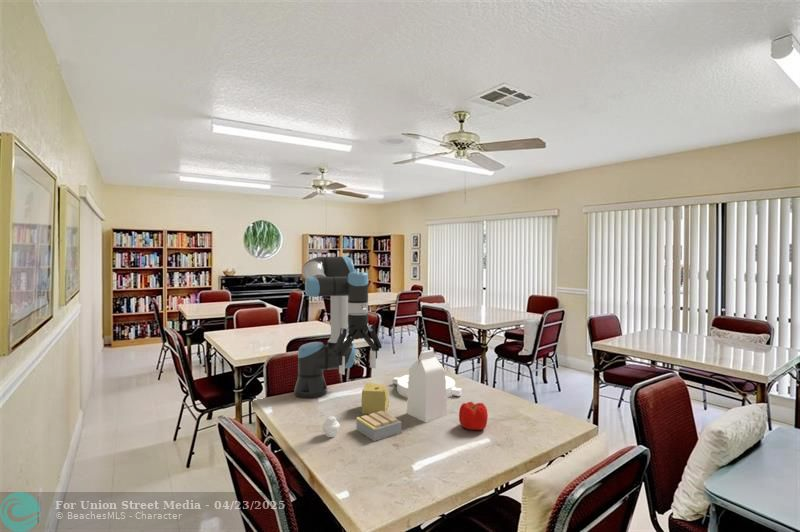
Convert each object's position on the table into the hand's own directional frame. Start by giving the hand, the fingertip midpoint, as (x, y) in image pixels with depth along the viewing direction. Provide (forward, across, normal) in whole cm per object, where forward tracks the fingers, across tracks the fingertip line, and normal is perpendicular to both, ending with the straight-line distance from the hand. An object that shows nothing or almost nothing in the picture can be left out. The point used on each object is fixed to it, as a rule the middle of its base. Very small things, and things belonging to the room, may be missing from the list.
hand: (357, 370), depth 149 cm
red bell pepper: (+22, +36, -25) cm, 49 cm away
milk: (+22, +30, -5) cm, 38 cm away
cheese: (+22, +16, +12) cm, 30 cm away
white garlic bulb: (+22, -10, +2) cm, 25 cm away
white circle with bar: (+22, +50, +17) cm, 58 cm away
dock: (+22, +5, -6) cm, 24 cm away
